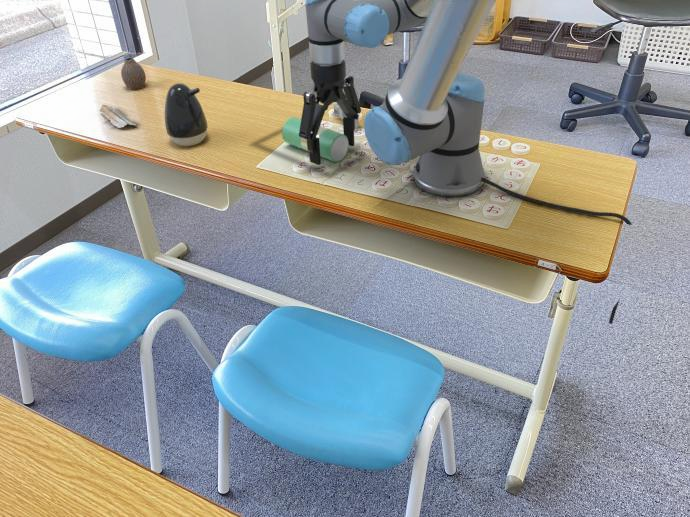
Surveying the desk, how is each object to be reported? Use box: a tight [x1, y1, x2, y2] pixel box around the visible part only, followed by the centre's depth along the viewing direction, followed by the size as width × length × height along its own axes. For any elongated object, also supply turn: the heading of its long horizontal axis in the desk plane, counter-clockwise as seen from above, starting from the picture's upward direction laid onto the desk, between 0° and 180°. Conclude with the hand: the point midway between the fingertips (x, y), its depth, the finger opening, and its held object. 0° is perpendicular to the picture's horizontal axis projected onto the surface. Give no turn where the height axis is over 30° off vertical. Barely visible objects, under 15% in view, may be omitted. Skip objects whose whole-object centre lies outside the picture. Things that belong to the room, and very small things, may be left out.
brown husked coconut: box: [120, 57, 147, 90], centre depth 179 cm, size 7×7×9 cm
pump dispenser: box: [164, 82, 209, 147], centre depth 145 cm, size 10×10×15 cm
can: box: [281, 116, 350, 163], centre depth 140 cm, size 16×7×7 cm, turn 49°
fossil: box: [99, 104, 137, 129], centre depth 163 cm, size 18×3×4 cm
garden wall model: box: [332, 102, 359, 129], centre depth 154 cm, size 12×2×6 cm, turn 28°
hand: (332, 153), depth 138 cm, fingers open, 11 cm apart
